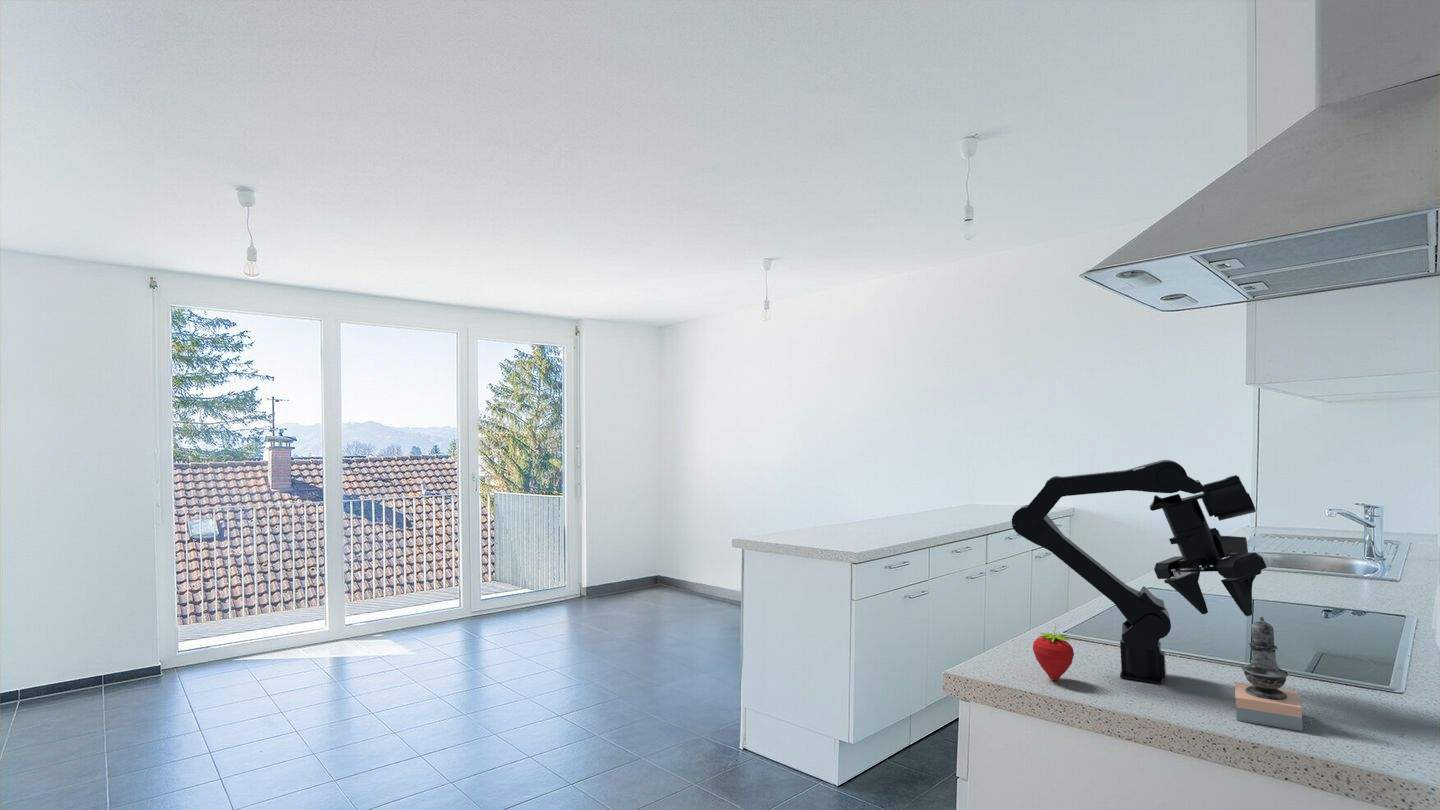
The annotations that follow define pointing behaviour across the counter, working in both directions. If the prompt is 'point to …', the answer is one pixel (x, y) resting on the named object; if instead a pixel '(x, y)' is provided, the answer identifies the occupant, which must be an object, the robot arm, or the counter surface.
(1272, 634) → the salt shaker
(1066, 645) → the strawberry
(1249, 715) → the peach and grey block
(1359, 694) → the counter surface
